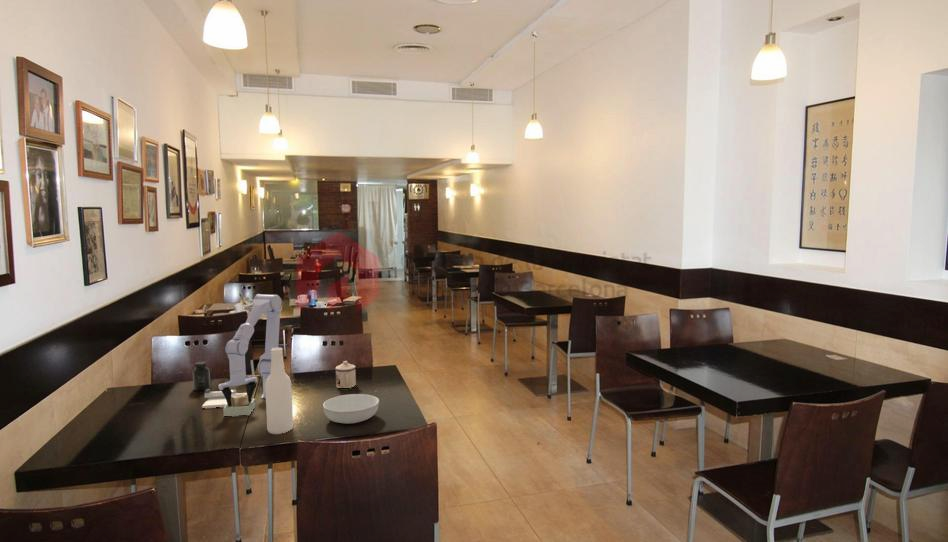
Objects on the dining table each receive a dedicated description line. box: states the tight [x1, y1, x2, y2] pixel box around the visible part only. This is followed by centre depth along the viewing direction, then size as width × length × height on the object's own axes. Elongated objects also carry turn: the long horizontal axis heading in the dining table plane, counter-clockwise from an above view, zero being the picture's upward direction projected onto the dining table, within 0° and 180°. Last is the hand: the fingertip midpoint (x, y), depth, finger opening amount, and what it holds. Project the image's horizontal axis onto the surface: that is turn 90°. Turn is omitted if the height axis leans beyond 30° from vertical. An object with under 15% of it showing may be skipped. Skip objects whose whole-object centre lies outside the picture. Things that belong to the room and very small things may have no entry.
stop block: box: [231, 392, 249, 407], centre depth 219 cm, size 5×5×6 cm
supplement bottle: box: [192, 361, 211, 392], centre depth 248 cm, size 7×7×12 cm
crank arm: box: [204, 388, 237, 399], centre depth 233 cm, size 12×4×3 cm, turn 100°
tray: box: [222, 398, 256, 417], centre depth 219 cm, size 10×10×4 cm
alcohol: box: [265, 347, 294, 435], centre depth 198 cm, size 9×9×30 cm
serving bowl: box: [322, 393, 380, 425], centre depth 210 cm, size 21×21×7 cm
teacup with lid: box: [334, 360, 357, 389], centre depth 249 cm, size 12×9×12 cm
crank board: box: [201, 392, 247, 409], centre depth 231 cm, size 16×14×2 cm
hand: (239, 403), depth 219 cm, fingers open, 7 cm apart
